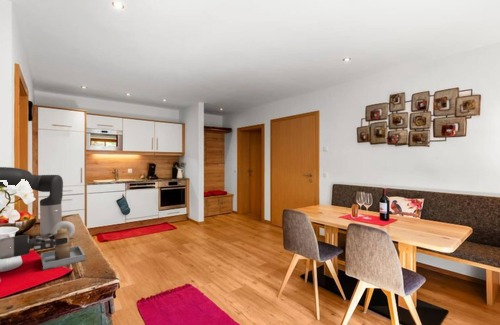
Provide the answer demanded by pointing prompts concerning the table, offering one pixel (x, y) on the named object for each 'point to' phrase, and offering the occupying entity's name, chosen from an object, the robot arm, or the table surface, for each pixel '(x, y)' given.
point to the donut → (64, 224)
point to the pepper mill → (62, 245)
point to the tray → (50, 262)
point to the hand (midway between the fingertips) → (66, 237)
